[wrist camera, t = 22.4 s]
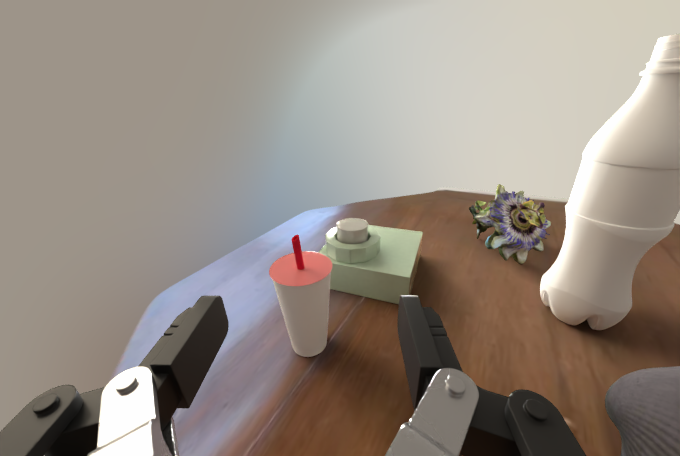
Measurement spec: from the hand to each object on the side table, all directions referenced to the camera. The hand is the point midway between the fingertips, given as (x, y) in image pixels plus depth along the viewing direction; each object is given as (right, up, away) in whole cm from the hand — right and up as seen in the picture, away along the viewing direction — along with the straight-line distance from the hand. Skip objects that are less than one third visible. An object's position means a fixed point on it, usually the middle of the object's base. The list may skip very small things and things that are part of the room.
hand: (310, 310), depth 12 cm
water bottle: (+27, -6, +17) cm, 32 cm away
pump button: (+3, +2, +23) cm, 23 cm away
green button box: (+6, -2, +26) cm, 27 cm away
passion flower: (+26, 0, +30) cm, 40 cm away
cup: (-2, -8, +15) cm, 17 cm away
